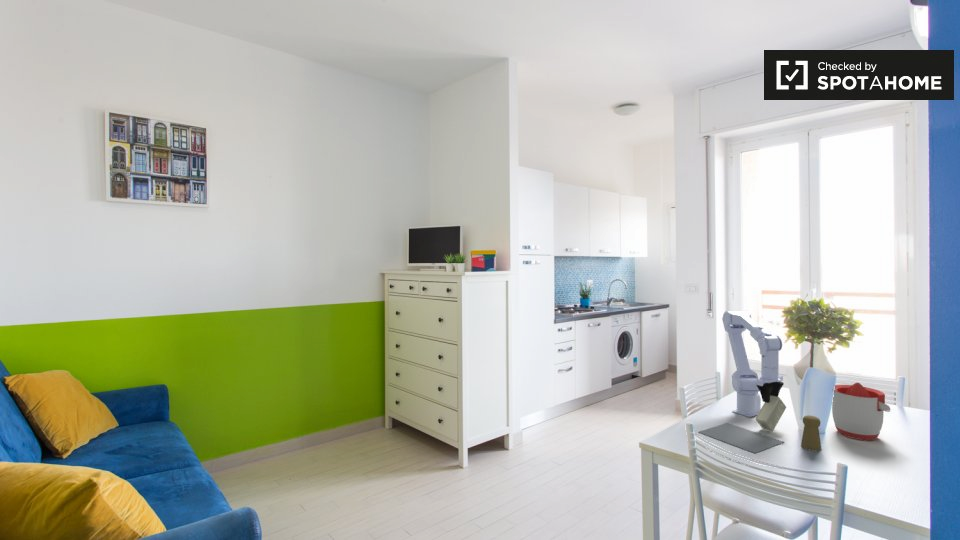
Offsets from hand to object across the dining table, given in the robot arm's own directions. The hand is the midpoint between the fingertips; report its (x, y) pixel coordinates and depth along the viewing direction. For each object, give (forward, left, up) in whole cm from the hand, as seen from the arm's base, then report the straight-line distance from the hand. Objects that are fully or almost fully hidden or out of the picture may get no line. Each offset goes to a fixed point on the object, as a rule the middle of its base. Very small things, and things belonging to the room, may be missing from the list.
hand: (769, 400), depth 186 cm
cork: (+6, +18, -11) cm, 22 cm away
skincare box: (+6, +1, -8) cm, 10 cm away
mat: (+19, 0, -11) cm, 22 cm away
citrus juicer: (-20, +22, -11) cm, 32 cm away
